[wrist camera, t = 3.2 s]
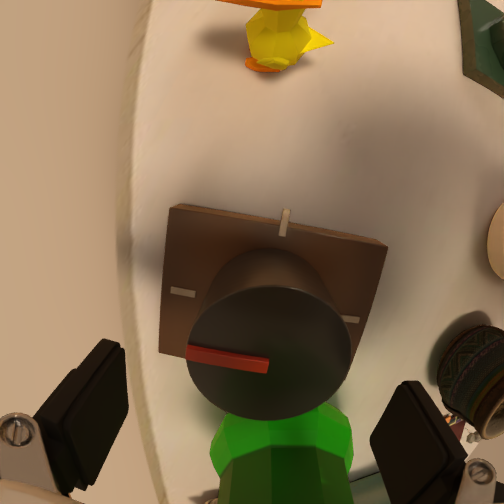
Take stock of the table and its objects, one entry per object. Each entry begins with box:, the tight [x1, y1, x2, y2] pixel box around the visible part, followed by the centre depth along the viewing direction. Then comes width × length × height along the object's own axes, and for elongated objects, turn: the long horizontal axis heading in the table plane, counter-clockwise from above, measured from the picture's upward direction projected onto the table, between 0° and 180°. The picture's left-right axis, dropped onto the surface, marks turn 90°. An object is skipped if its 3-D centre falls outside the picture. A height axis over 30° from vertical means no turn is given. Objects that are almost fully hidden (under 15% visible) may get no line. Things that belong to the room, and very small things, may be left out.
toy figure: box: [217, 0, 334, 72], centre depth 9 cm, size 7×4×12 cm, turn 78°
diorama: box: [445, 416, 482, 443], centre depth 22 cm, size 9×27×4 cm, turn 14°
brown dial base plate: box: [159, 204, 388, 380], centre depth 18 cm, size 12×11×2 cm
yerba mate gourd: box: [437, 324, 504, 439], centre depth 15 cm, size 7×8×10 cm
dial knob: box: [185, 248, 352, 421], centre depth 14 cm, size 7×7×6 cm
